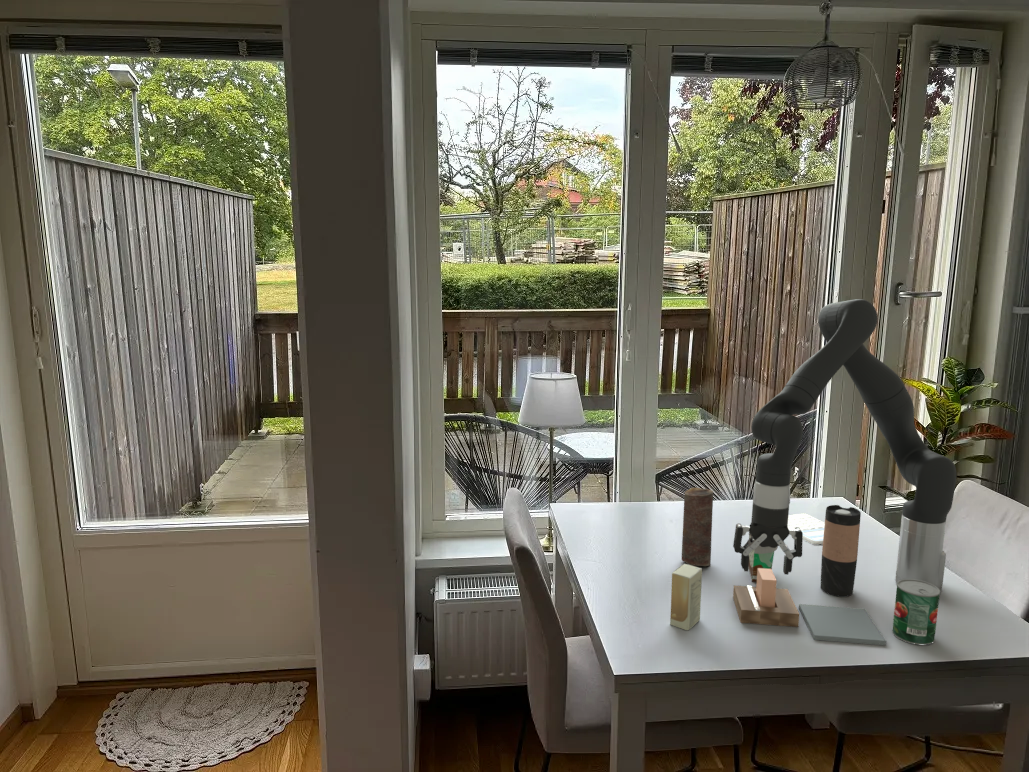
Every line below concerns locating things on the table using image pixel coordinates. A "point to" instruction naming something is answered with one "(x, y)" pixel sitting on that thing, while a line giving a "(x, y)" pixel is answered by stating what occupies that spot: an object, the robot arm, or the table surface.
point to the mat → (841, 624)
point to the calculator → (808, 527)
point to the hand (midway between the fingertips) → (765, 571)
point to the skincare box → (686, 596)
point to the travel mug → (840, 550)
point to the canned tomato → (915, 611)
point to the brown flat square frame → (765, 608)
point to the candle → (697, 527)
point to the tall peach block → (765, 587)
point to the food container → (760, 559)
